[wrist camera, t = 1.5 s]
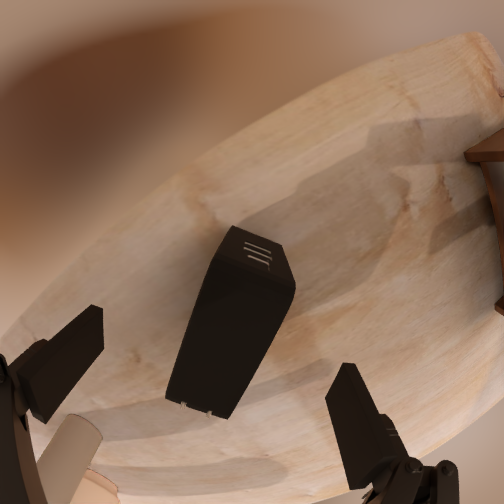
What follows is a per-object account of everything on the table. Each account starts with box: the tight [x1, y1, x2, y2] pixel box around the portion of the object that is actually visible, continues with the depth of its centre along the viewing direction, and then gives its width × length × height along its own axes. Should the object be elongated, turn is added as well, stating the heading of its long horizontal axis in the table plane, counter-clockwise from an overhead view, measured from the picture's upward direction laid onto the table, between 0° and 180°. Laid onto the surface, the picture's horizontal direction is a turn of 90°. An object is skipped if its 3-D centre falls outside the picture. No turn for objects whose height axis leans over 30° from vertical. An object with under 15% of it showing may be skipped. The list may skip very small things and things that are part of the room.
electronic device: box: [165, 225, 296, 420], centre depth 18 cm, size 4×10×10 cm, turn 158°
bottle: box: [36, 414, 102, 504], centre depth 16 cm, size 7×7×28 cm
